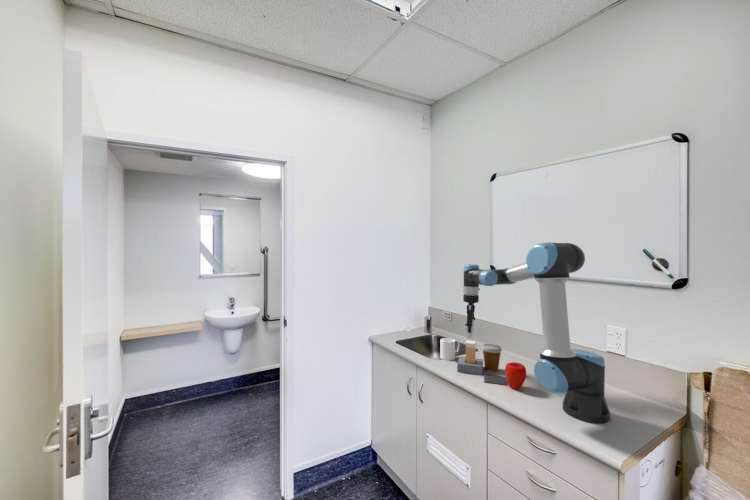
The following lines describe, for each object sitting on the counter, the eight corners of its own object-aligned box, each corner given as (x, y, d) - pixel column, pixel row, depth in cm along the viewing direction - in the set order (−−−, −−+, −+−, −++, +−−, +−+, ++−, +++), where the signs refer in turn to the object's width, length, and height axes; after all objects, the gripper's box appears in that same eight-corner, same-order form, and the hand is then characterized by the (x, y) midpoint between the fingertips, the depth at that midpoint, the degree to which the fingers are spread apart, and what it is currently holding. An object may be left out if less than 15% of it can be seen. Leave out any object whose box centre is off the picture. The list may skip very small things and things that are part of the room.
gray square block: (482, 375, 160) (482, 366, 160) (457, 371, 164) (457, 363, 164) (483, 366, 171) (483, 359, 171) (459, 363, 175) (459, 356, 175)
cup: (463, 358, 184) (463, 340, 184) (445, 360, 180) (445, 342, 180) (455, 354, 192) (455, 337, 192) (437, 356, 188) (437, 338, 188)
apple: (524, 393, 140) (524, 368, 140) (503, 388, 144) (503, 364, 144) (527, 386, 147) (527, 362, 147) (507, 381, 152) (507, 358, 152)
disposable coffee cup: (481, 371, 164) (482, 347, 164) (481, 365, 173) (482, 342, 173) (501, 374, 161) (502, 350, 161) (500, 367, 170) (501, 344, 170)
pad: (507, 385, 148) (507, 384, 148) (483, 382, 151) (483, 381, 151) (506, 377, 157) (506, 376, 157) (484, 374, 160) (484, 373, 160)
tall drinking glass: (474, 371, 165) (475, 343, 165) (465, 370, 166) (465, 342, 166) (475, 368, 169) (475, 341, 169) (466, 367, 171) (466, 340, 170)
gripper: (477, 298, 154) (476, 342, 155) (479, 291, 178) (479, 330, 178) (461, 297, 157) (460, 341, 157) (465, 290, 180) (464, 328, 181)
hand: (470, 335), depth 168 cm, fingers open, 13 cm apart
